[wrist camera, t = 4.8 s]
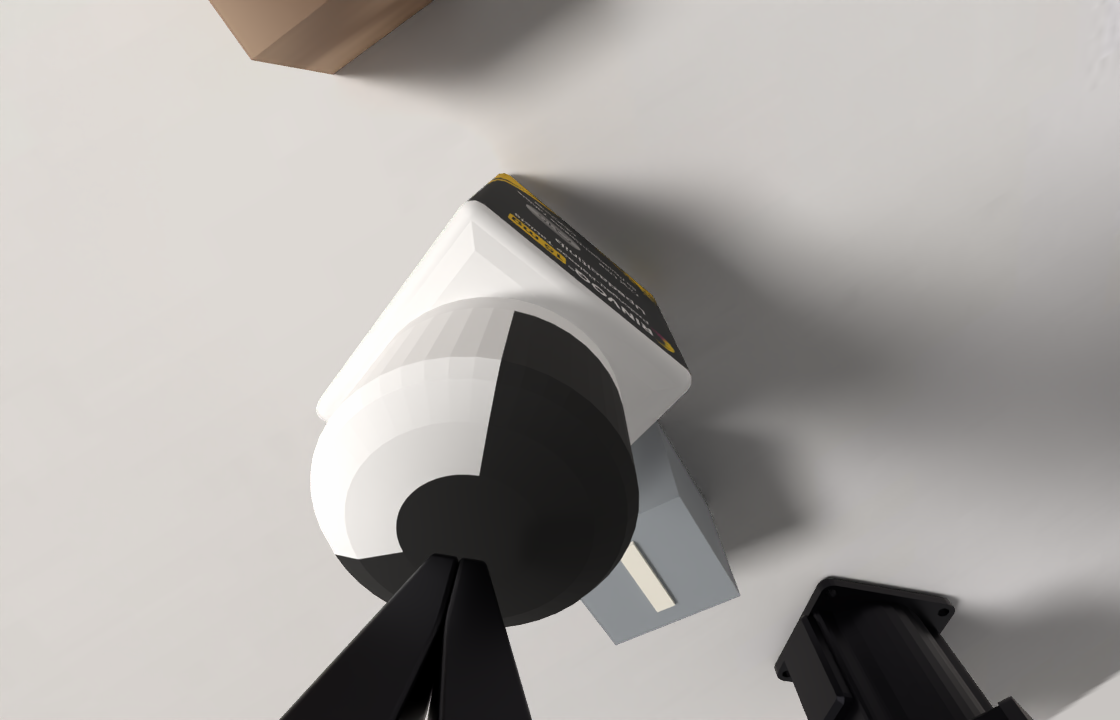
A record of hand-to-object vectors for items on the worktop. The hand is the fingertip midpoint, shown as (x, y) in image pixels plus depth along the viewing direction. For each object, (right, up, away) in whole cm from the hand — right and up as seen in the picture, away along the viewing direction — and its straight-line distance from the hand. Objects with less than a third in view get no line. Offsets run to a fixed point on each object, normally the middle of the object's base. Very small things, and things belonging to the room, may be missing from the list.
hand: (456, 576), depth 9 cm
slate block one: (+5, -2, +15) cm, 16 cm away
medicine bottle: (0, +5, +12) cm, 13 cm away
